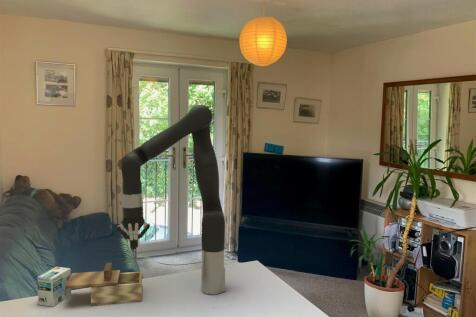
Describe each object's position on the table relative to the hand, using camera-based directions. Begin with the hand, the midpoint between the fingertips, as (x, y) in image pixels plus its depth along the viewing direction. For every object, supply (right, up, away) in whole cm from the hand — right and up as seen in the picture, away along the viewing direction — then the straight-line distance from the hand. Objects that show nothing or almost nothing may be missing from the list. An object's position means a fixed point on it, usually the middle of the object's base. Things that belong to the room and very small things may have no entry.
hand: (134, 248), depth 144 cm
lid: (-15, -11, -2) cm, 19 cm away
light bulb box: (-29, -19, -3) cm, 35 cm away
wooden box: (-6, -19, 0) cm, 20 cm away
